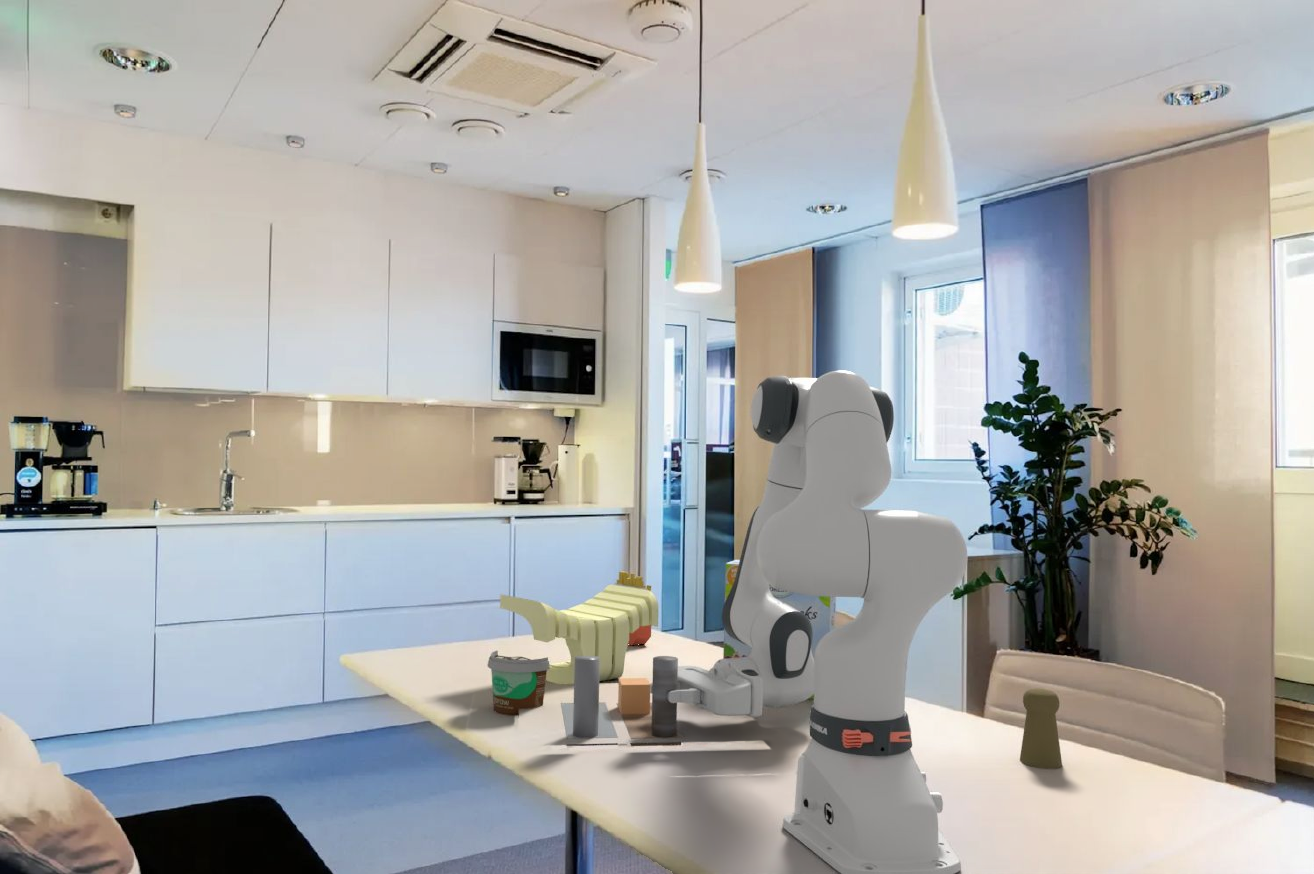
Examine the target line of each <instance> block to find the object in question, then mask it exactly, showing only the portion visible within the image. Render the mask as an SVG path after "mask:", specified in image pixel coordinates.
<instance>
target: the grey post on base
mask: <svg viewBox="0 0 1314 874" xmlns="http://www.w3.org/2000/svg"><path fill="white" fill-rule="evenodd" d="M599 673H600V658H599V657H597V656H577V657H575V669H574V684H573V702H561V703H560V704H561V711H562V717H563V723H564V729H565V735H566V739H569V740H570V739H607V738H613V739H614V738H615V739H616V738H617V739H618V738H619V736H618V733H617V731H616V728H615V725H614V723H613V719H612V717H611V714H610V712H609V708H608V705H607V704H606V701H605V702H603V701H602V702H600V681H599ZM618 745H619V744H618V742H614V743H612V742H610V743H609V742H608V743H569V744H567V743H566V747H577V746H578V747H581V746H582V747H584V746H589V747H590V746H618Z"/></svg>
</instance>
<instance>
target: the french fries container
mask: <svg viewBox="0 0 1314 874" xmlns="http://www.w3.org/2000/svg"><path fill="white" fill-rule="evenodd" d="M635 575H636V573H634V572H633V573H631V572H630V573H629V572H627V571H624V570H623V571H622V570H621V571H620V570H619V571H618V579H616V582H615V583H614V585H617V586H624V587H630V588H637V589H644V590H649V591H651V592H652V585H644V580H643V576H636V577H635ZM629 576H630V577H629ZM651 637H652V626H651V625H648V626H639V628H638V629H636V630H635V631H634V632H633V633H629V642H628V644H629V645H628V646H630V645H636V646H639V645H638V644H645V645H646V644H647V643H648V641H649V640H650V638H651Z"/></svg>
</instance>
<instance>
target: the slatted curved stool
mask: <svg viewBox="0 0 1314 874" xmlns="http://www.w3.org/2000/svg"><path fill="white" fill-rule="evenodd" d="M499 595H500V598H499V599H500V601H499V608H500V609H503V610H506V611H509V612H512V613H516V614H517V615H520V616H522V617H523V618H524V619H525V620H526V621H527V622H528V624H529V626H530V628H531V630H532V636H533V640H535V641H540V642H543V643H550V642H551V641H552V642H553V641H554V640H556V638H558V639H561V638H562V639H565V643H566V646H567V648H568V651H569V654H570V660H567V661H565V662H564V661H563V662H562V661H561V662H556V663H549V665H550V669H549V670H547V673H546V680H547V681H546V682H550V683H554V684H556V685H574V669H575V657H577V656H597V657H599V658H600V673H599V682H603V681H609V680H610V681H611V680H614V679H615V680H616V679H619V678H622V676H623V674H624V670H625V659H626V653H627V650H628V646H629V645H628V642H629V633H633V632H634V631H635V630H636V629H638V628H639V626H648V625H651V627H652V626H653V627H657V628H658V627H659V602H658V599H657V597H656V595H655V594H654V593H653V592H652V590H651V591H649V590H644V589H637V588H630V587H624V586H617V585H615V584H608V585H607V586H606V587H605V588H603V590H602V591H600V592H598V593H597V594H596V595H595V594H594V596H593V598H589V599H587V600H585V601H584V602H583V603H580V604H577V605H575V606H572V607H569V608H567V609H560V610H558V609H555V608H554V607H553V606H550V605H548V604H547V603H545V602H544V603H543V602H541V601H538V600H532V599H528V598H522V597H516V596H511V595H505V594H502V593H501V594H499Z"/></svg>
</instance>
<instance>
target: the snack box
mask: <svg viewBox="0 0 1314 874" xmlns="http://www.w3.org/2000/svg"><path fill="white" fill-rule="evenodd" d="M739 562H740V559H733V560H731V561H729V562H726V563H725V573H724V574H725V576H724V577H725V581H724V583H725V584H724V602H725V601H726V599H727V597H728V595H729V593H730V591H731V588H732V586H733V584H734V581H735V577H736V574H737V570H738V566H739ZM769 587H770V591H771V593H772V595H773V597H774V598H776V599H778V600H780V601H781V602H783V603H785V604H788V605H789V606H791V607H793V608H794V609H796V610H798V611H799V612H801V613H803V614H804V615H806V616H807V618H808V619H809V621H810V623H811V625H812V630H813V639H812V645H811V651H812V656H813V658H815V650H816V647H817V645H818V643H819V641H820V640H821V639H822V637H823V636H825V635H826V634H827V633H828V632H830V631H831V630H833V629H835V628H836V618H837V617H836V615H837V614H836V611H837V607H836V606H837V597H824V596H806V595H801V594H796V593H792V592H788V591H783V590H779V589H775V588H773V587H772V586H771V585H770V584H769ZM751 651H752V648H751V647H749V646H748V645H745V644H743V643H741V642H739V641H737V640H735V639H733V638H732V637H730V636H729V635H728V634H727V632H726V631H725V629H724V628H723V652H722V655H723V658H722V659H727V658H739V657H747V656H749V655H750V654H751ZM809 699H810V700H814V694H813V695H812V696H811V697H810V698H808V699H807V700H809Z"/></svg>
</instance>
